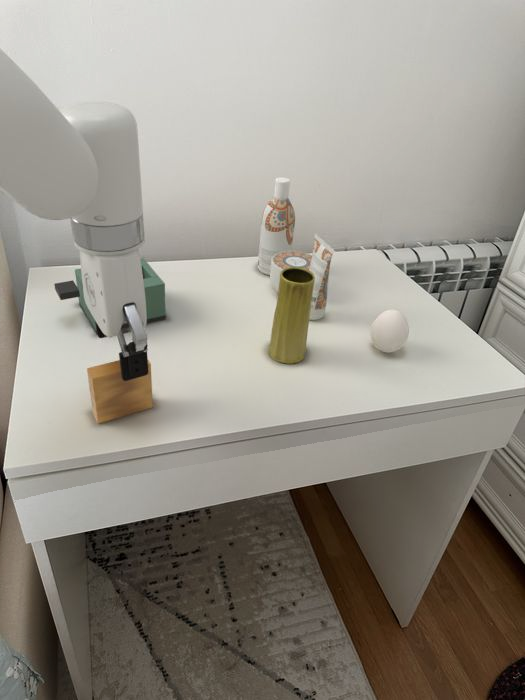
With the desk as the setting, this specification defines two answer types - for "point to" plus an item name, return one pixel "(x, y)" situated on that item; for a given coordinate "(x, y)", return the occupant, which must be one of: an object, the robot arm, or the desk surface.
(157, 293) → the toaster
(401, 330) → the egg
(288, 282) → the vase
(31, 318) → the desk surface
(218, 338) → the desk surface
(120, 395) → the golden wooden block
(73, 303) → the desk surface
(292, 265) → the cosmetic set
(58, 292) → the dark grey slab
